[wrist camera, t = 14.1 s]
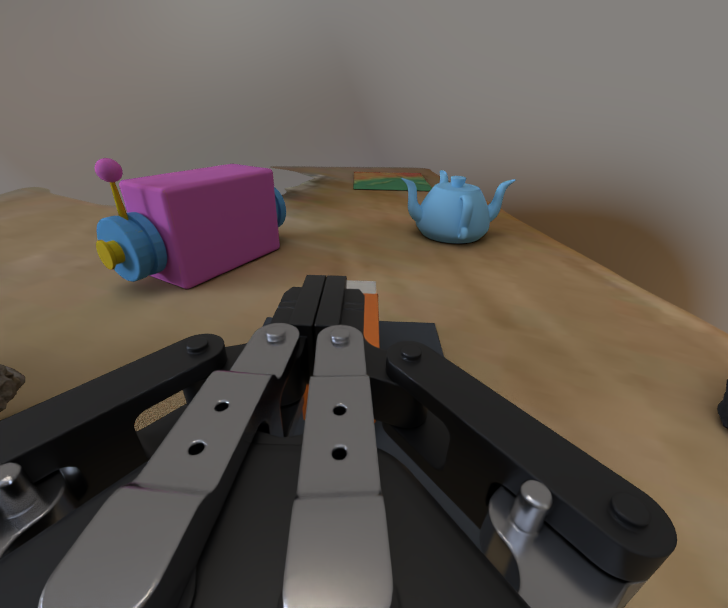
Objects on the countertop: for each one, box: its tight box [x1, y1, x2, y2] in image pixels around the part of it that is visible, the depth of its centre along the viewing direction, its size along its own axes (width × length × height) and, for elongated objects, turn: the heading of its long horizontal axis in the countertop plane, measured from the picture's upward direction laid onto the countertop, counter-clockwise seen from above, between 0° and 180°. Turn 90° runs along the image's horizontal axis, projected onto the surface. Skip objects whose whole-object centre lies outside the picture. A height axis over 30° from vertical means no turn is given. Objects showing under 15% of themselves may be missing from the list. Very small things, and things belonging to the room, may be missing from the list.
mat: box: [263, 317, 483, 553], centre depth 27 cm, size 26×18×1 cm
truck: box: [303, 280, 379, 423], centre depth 29 cm, size 7×5×13 cm
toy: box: [95, 158, 286, 289], centre depth 48 cm, size 28×9×15 cm, turn 151°
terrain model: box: [354, 172, 432, 191], centre depth 108 cm, size 25×22×1 cm
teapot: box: [401, 170, 515, 243], centre depth 63 cm, size 15×15×10 cm
